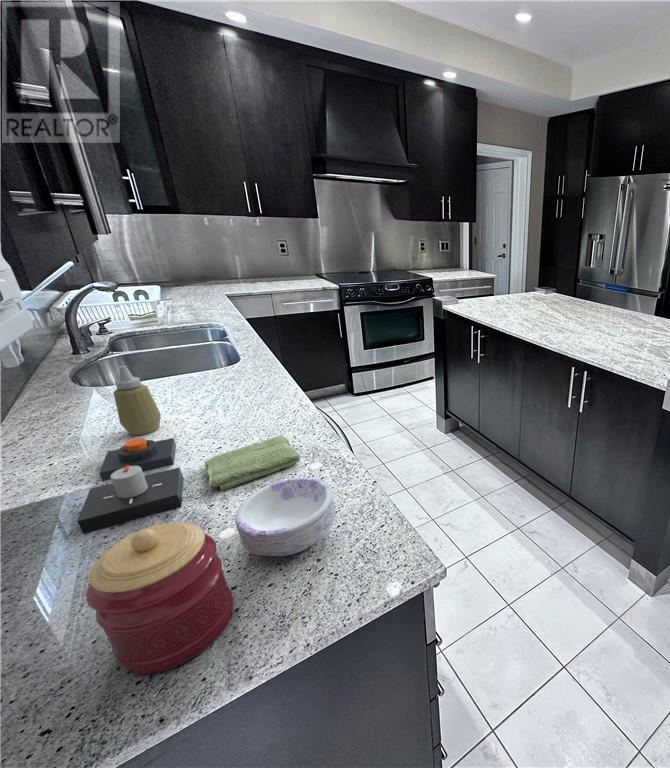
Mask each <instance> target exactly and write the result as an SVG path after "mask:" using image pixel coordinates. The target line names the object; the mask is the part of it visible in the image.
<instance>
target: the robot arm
mask: <svg viewBox="0 0 670 768" xmlns="http://www.w3.org/2000/svg"><path fill="white" fill-rule="evenodd" d="M23 296H24V295H23V293H22V290H21V288H20V286H19V283H18V280H17V278H16V276H15V273H14V271H13V269H12V267H11V265H10V263H8V261H6V259H5V258H4V256H3V253H2V243H1V242H0V361H1V363H2V365H3V367H4V368H7V369H10V368H18V367H19V366H20V365H21V364H22V363H24V360H25V359H24V357H23V355H22V350H21V341H20V339H19V338H21V337H22V336H23V335H24V334H26V333H27V332H28V331H30V330H32V329H33V328H34V321H33V318H32V316H31V314H30V312H29V310H28V308H27V306H26V304H25V302H24V300H23V298H22V297H23Z"/></svg>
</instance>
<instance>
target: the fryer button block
mask: <svg viewBox="0 0 670 768" xmlns="http://www.w3.org/2000/svg"><path fill="white" fill-rule="evenodd" d="M145 440H146V443H147V447H146V448H145V449H142V450H140V451H136V452H127V451H126V448H125V446H124V445H122V446H121V447H120V448H117V449H112V450H107V452H106V454H105V457H104V460H103V462H102V464H101V467H100V471H99V476H100V479H101V481H102V482H106V481H110V480H111V477H110V476H111V474H112V473H114V472H115V471H117V470H119V469H122V468H125V466H127V465H130V466H139V467H141V469H142V472H143V473H145V472H149V471H152V470H157V469H162V468H166V467H170V466H174V465H175V458H176V450H177V444H176V441H175V438H174V437H171V438H166V439H160V440H156V441H155V440H152V439H145Z"/></svg>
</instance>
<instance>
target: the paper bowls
mask: <svg viewBox="0 0 670 768" xmlns="http://www.w3.org/2000/svg"><path fill="white" fill-rule="evenodd" d="M335 504H336V503H335V498H334V492H333V490H332V488H331V486H330V485H329V484H328V483H327V482H325V481H324V480H322V479H318V478H314V477H307V476H306V477H301V476H300V477H291V478H287V479H282V480H279V481H276V482H273V483H271V484H268V485H266V486H264V487H261V488H260V489H258V490H257V491H255V492H254V493H252V494H251V495H250V496H248V497H247V498H246V499H245V500H244V501H243V502H242V503H241V505H240V506H239V507H238V509H237V511H236V514H235V517H234V518H235V519H234V520H235V521H234V523H235V525H236V529H237V533H238V535H239V539H240V541H241V544H242V546H243V547H244V549H246V550H247V551H248V552H250V553H252V554H255V555H258V556H265V557H266V556H269V557H272V556H273V557H287V556H292V555H295V554H298V553H301V552H303V551H304V550H306V549H309V548H310V547H311V546H312V545H314V544H315V543H316V542H317V541H318V540H319V539H320V538H322V537H323V536H324V535H325V534H326V533H327V532H328V531H329V530H330V529H331V528H332V526H333V525H334V522H335V520H336V513H337V511H336V505H335Z"/></svg>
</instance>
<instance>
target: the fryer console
mask: <svg viewBox="0 0 670 768" xmlns="http://www.w3.org/2000/svg"><path fill="white" fill-rule="evenodd" d="M144 477H145V480H146V483H147V485H148V488H147V490H146V491H145V492H143V493H141V494H140V495H137V496H134V497H131V498H120V497H118V494H117V492H116V490H115V487H114V485H113V482H112V483H108V484H104V485H99V486H95V487H91V488H89V491H88V493H87V496H86V498H85V501H84V503H83V505H82V508H81V511H80V513H79V516H78V518H77V520H76V522H77V524H78V526H79V528H80V531H81V533H82V535H86V534H90V533H94V532H97V531H100V530H104V529H107V528H110V527H115V526H119V525H121V524H125V523H128V522H133V521H137V520H139V519H143V518H146V517H147V518H148V517H150V516H154V515H157V514H161V513H165V512H168V511H171V510H176V509H178V508H181V507H182V503H183V493H184V491H183V490H184V475H183V473H182V470H181V467H175V468H171V469H166V470H162V471H158V472H154V473H149V474H146V475H145V474H144Z"/></svg>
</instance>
